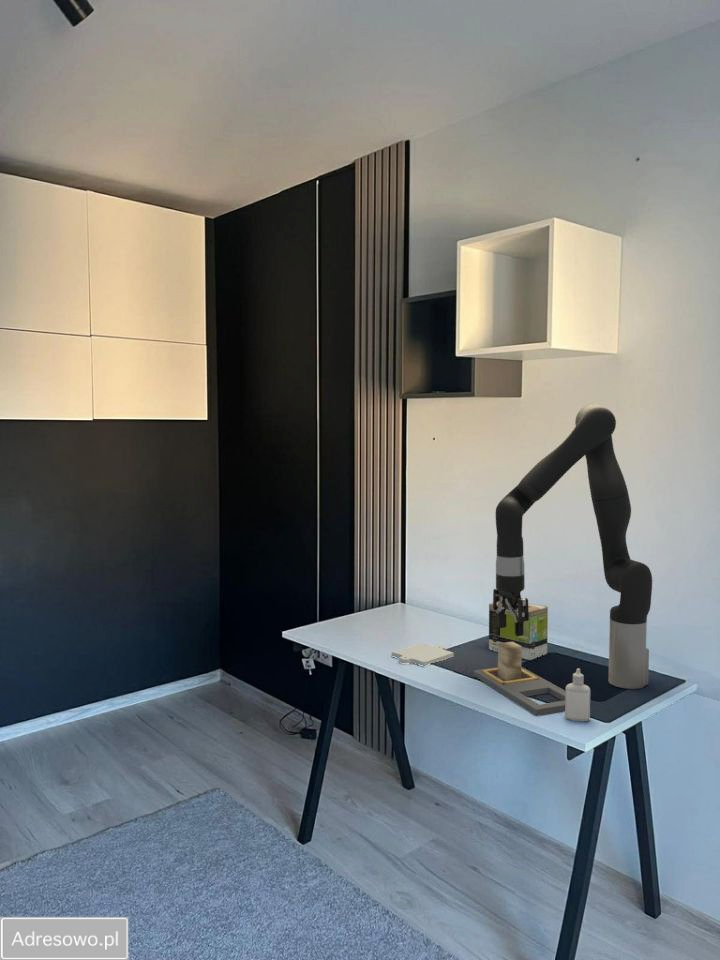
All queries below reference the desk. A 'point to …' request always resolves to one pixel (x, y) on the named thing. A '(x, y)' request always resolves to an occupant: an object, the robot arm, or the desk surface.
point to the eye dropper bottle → (577, 699)
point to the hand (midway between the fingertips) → (510, 631)
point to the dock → (525, 690)
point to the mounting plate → (422, 654)
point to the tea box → (532, 635)
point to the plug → (509, 661)
